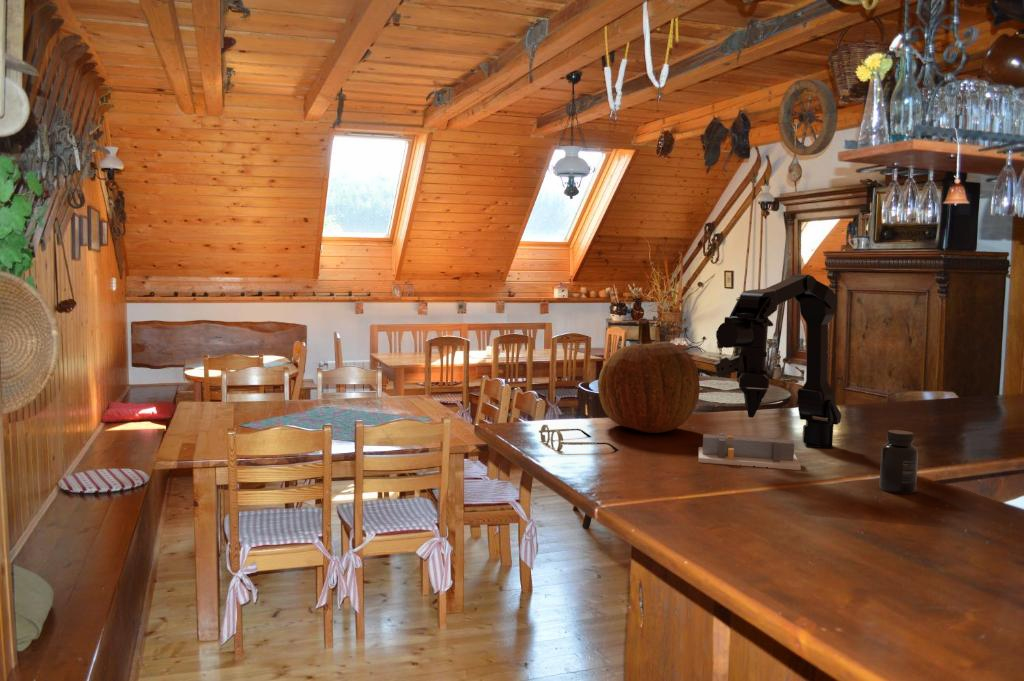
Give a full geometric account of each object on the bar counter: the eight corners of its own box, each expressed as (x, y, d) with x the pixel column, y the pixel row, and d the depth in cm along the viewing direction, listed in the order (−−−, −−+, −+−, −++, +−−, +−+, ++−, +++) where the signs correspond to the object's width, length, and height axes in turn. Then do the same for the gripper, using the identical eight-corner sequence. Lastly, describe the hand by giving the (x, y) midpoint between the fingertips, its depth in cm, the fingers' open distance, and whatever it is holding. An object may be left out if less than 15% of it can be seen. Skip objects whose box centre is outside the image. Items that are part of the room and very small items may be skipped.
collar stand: (794, 458, 196) (795, 437, 195) (800, 470, 184) (801, 447, 183) (698, 450, 200) (699, 430, 200) (698, 462, 189) (699, 440, 188)
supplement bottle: (913, 487, 172) (917, 430, 170) (917, 496, 165) (922, 436, 164) (877, 484, 174) (881, 427, 173) (880, 492, 167) (884, 433, 166)
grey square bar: (791, 457, 192) (792, 438, 191) (793, 461, 188) (794, 442, 188) (702, 450, 196) (703, 432, 196) (702, 454, 192) (703, 436, 192)
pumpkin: (575, 423, 231) (579, 315, 228) (658, 418, 242) (662, 315, 239) (626, 443, 206) (631, 323, 203) (716, 437, 217) (722, 322, 214)
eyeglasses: (536, 440, 209) (536, 420, 209) (591, 438, 214) (592, 419, 214) (562, 455, 193) (562, 434, 193) (621, 452, 198) (621, 432, 198)
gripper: (716, 341, 200) (713, 405, 202) (718, 348, 182) (714, 418, 184) (764, 343, 198) (760, 408, 199) (771, 350, 180) (766, 422, 181)
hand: (749, 413), depth 191 cm, fingers open, 9 cm apart
